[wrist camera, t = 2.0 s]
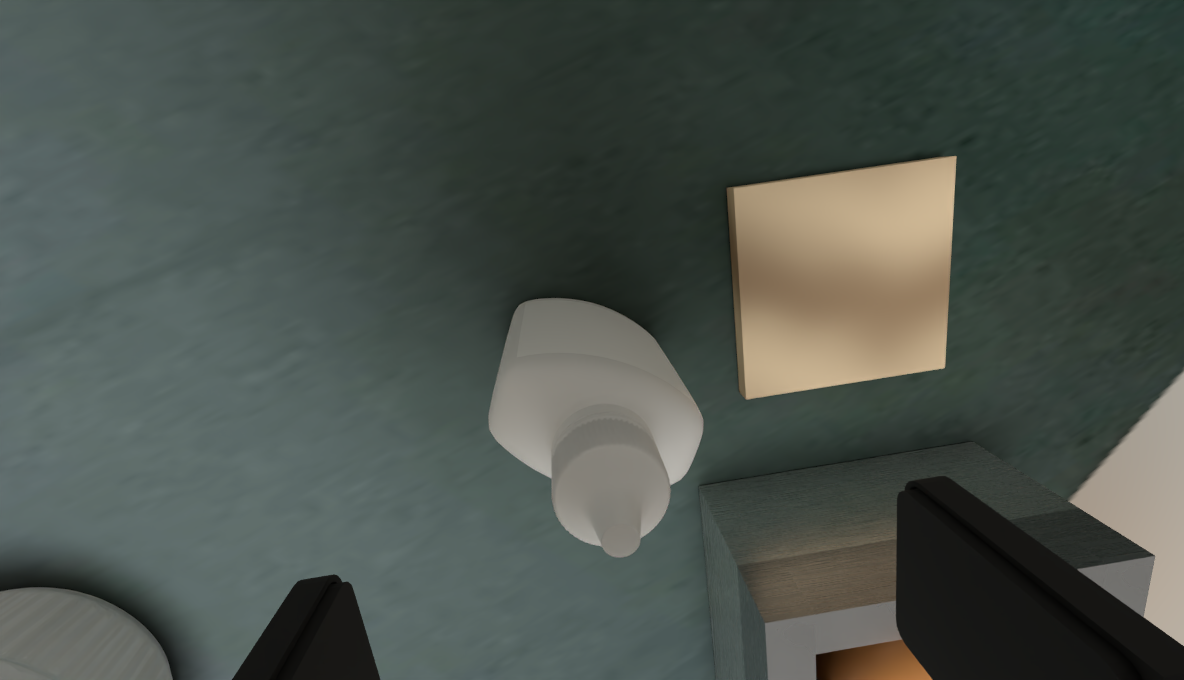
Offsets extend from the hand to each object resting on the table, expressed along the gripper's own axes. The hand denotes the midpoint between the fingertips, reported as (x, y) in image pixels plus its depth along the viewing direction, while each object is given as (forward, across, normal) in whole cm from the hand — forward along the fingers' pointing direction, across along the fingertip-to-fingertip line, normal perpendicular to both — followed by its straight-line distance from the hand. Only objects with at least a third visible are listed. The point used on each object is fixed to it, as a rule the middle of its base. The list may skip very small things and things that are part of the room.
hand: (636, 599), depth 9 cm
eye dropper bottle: (+13, 0, -1) cm, 13 cm away
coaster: (+13, -10, -2) cm, 16 cm away
